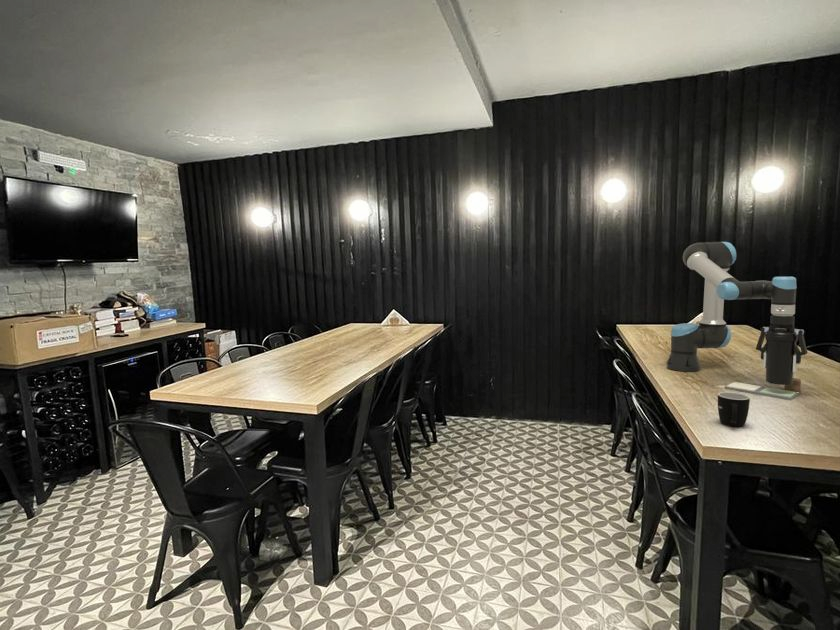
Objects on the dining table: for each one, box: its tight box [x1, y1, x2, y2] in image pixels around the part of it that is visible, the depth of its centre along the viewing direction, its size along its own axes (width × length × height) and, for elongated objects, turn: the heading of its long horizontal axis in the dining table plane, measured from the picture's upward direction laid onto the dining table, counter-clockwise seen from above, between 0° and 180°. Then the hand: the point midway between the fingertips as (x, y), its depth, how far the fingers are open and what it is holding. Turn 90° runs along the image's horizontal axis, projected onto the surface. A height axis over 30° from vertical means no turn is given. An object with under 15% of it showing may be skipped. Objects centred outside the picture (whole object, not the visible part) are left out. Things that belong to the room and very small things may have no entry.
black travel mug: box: [764, 328, 799, 386], centre depth 181 cm, size 10×10×23 cm
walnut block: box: [783, 377, 802, 394], centre depth 187 cm, size 5×5×5 cm
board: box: [724, 381, 800, 401], centre depth 187 cm, size 23×11×1 cm, turn 36°
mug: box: [717, 391, 751, 428], centre depth 151 cm, size 12×9×10 cm
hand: (779, 369), depth 181 cm, fingers closed on black travel mug, 9 cm apart
